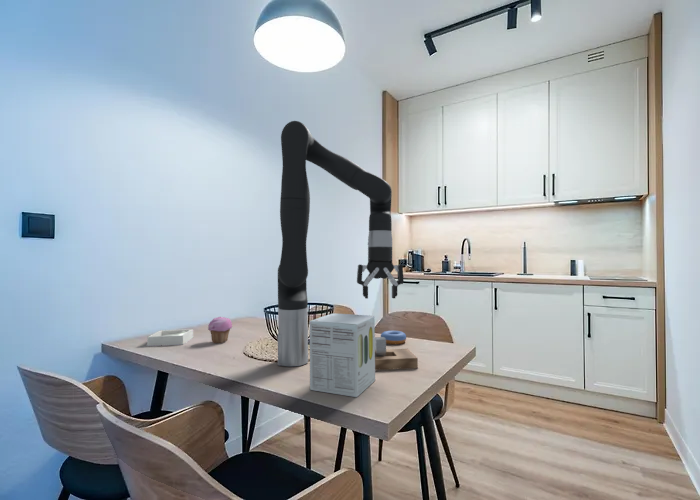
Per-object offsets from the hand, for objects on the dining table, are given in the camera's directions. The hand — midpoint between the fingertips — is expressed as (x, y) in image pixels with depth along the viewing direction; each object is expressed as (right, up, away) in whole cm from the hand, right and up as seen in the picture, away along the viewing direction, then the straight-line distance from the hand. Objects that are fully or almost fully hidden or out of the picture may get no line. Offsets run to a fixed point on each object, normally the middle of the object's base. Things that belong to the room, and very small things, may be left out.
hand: (380, 298), depth 112 cm
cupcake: (-60, -22, +31) cm, 71 cm away
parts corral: (-81, -22, +33) cm, 90 cm away
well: (0, -20, 0) cm, 20 cm away
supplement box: (-11, -21, -18) cm, 29 cm away
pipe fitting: (-79, -22, +33) cm, 89 cm away
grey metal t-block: (0, -20, 0) cm, 20 cm away
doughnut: (+8, -21, +28) cm, 36 cm away
